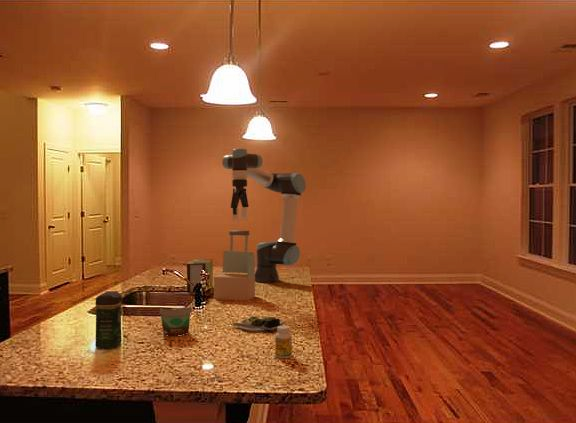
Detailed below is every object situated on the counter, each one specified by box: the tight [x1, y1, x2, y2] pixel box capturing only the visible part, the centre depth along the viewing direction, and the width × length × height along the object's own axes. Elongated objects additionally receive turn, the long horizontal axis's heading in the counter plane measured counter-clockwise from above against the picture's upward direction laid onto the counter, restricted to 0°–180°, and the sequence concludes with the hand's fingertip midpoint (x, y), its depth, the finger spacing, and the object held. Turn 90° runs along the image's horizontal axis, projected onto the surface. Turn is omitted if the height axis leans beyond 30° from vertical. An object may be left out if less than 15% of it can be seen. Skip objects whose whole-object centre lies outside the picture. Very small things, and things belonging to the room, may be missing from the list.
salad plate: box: [232, 316, 283, 333], centre depth 198 cm, size 19×18×5 cm
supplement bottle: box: [274, 325, 293, 359], centre depth 162 cm, size 5×5×10 cm
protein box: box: [186, 259, 214, 293], centre depth 272 cm, size 10×15×16 cm
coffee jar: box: [94, 290, 123, 350], centre depth 173 cm, size 10×8×19 cm
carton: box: [213, 254, 256, 302], centre depth 252 cm, size 10×18×21 cm, turn 76°
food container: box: [158, 304, 193, 337], centre depth 186 cm, size 12×6×10 cm, turn 117°
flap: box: [222, 230, 255, 274], centre depth 258 cm, size 22×16×2 cm
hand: (239, 220), depth 258 cm, fingers open, 13 cm apart
